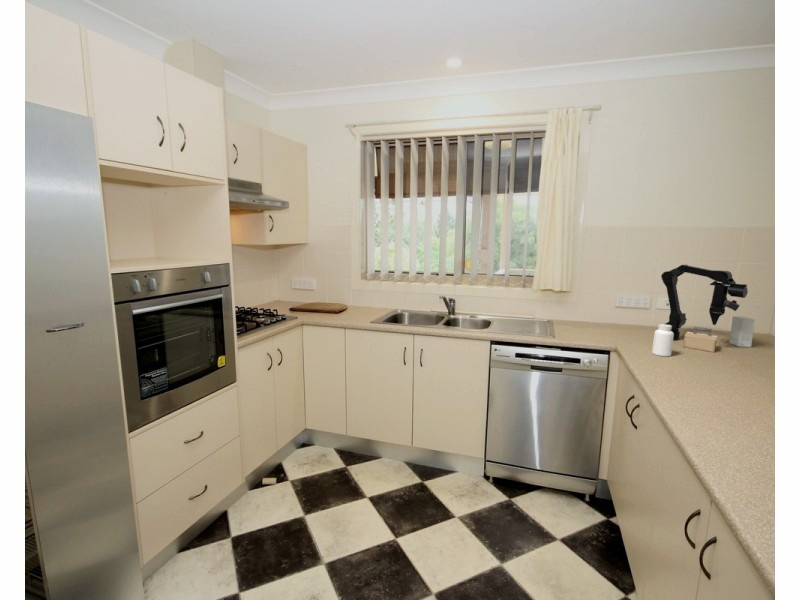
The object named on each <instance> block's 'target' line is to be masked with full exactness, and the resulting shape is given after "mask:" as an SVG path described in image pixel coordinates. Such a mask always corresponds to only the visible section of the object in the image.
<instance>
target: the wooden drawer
mask: <svg viewBox="0 0 800 600" xmlns="http://www.w3.org/2000/svg"><path fill="white" fill-rule="evenodd" d="M717 340H718V338H717V339H716V341H713V340H706V339H700V338H693V337H686V336H685V335H684V339H683V344H682V345H683V346H682V347H683V348H685V349H691V350H698V351H702V352H710V353H715V351H716V348H717Z"/></svg>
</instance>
